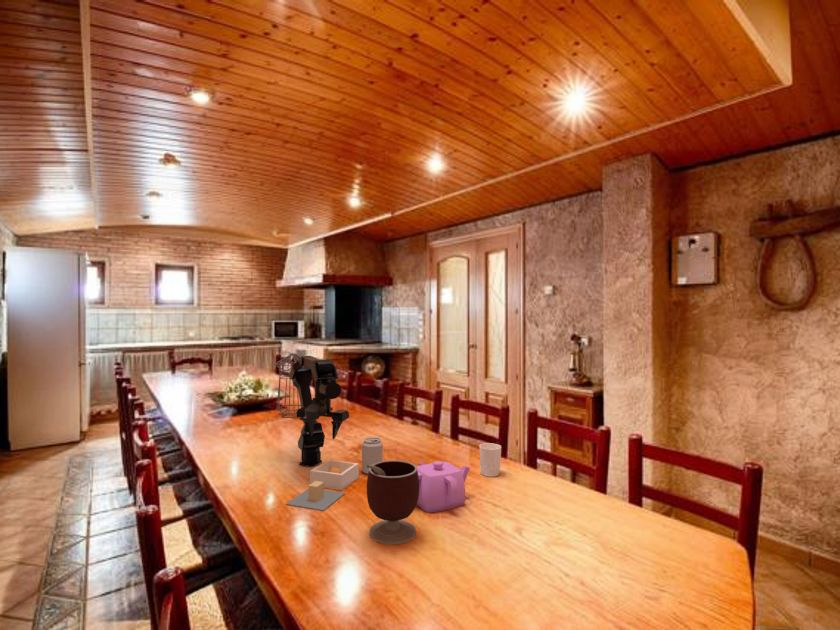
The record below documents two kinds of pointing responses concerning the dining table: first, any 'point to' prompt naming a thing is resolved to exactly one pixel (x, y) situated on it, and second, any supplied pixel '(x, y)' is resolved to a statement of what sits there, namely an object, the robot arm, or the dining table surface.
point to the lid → (316, 497)
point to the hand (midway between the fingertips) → (322, 437)
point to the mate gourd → (392, 500)
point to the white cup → (490, 459)
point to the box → (335, 474)
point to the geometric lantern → (286, 384)
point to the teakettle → (441, 486)
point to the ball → (335, 470)
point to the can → (371, 452)
